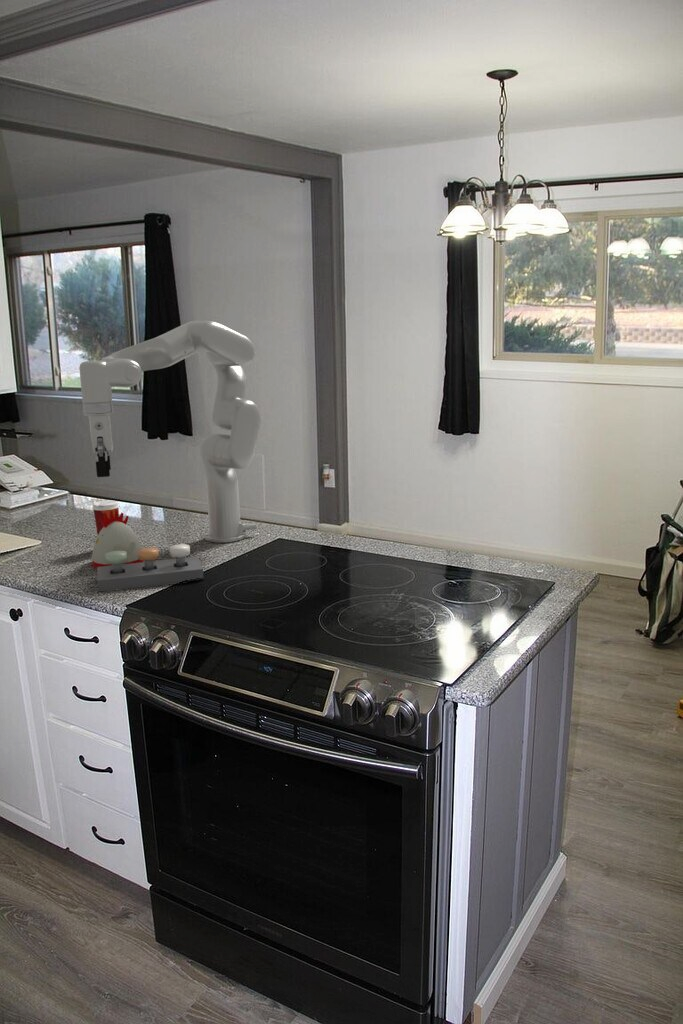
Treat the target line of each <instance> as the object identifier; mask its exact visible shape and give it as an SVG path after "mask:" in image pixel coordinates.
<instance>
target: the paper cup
mask: <svg viewBox="0 0 683 1024" xmlns="http://www.w3.org/2000/svg"><path fill="white" fill-rule="evenodd" d="M92 505H93V506H92V510H93V514H94V520H95V526H96V528H95V529H96V534H97V535H98V534H99V532H100V531H101V530H102V528H103V527H104V526H103V524H102V523H101V521H100V519H99V518H101V519H102V520H104V512H105V513H106V514H107V517H108V519H109V517H110V511H112V512H113V516H115V510H117V511H118V514H119V515H120V513H119V512H120V511H119V508H120V505H119V503H118V501H116V500H101V501H96V502H93V504H92Z"/></svg>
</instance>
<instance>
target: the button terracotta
mask: <svg viewBox="0 0 683 1024" xmlns="http://www.w3.org/2000/svg"><path fill="white" fill-rule="evenodd" d="M159 558H160V553H159V548H158V547H154V546H153V547H152V546H151V547H142V549H139V550H138V559H139V560H143V561H144V565H145V570H153V569H154V561H155V560H157V559H159Z"/></svg>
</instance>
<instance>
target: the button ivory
mask: <svg viewBox="0 0 683 1024" xmlns="http://www.w3.org/2000/svg"><path fill="white" fill-rule="evenodd" d="M189 555H191V547H190V545H189V544H186V543H184V544H183V543H180V544H174V545H171V546H169V557H172V558H175V559H176V566H177V567H183V566H185V565H186V564H185V558H186V557H187V556H188V557H189Z"/></svg>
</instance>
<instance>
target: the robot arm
mask: <svg viewBox="0 0 683 1024" xmlns="http://www.w3.org/2000/svg"><path fill="white" fill-rule="evenodd" d="M201 352H204V353H206V356H207V358H208V360H209V362H210V363H211V365H212V366H213V368H214V370H215V373H216V375H217V387H216V393H215V398H214V403H213V409H212V414H211V420H212V424H213V425H214V427H216V428H217V429H219V430H223V431H230V434H223V433H213V434H210V435H207V436H206V437H205V438H204V439H203V441H202V442H201V444H200V445H201V446H200V457H201V461H202V465H203V469H204V474H205V484H206V485H205V487H206V501H207V502H206V503H207V515H208V516H207V517H208V529H209V530H208V532H206V533H204V540H205V541H207V542H210V543H219V544H220V543H221V544H222V543H233V542H237V541H241V540H243V539H245V538H246V537H247V531H254V530H255V531H256V530H257V523H251V522H246V523H244V522H243V521H241V511H240V510H241V509H240V496H239V495H240V494H239V479H238V474H237V472H236V470H242V469H245V468H248V466H249V465H250V464H251V463H252V461H253V459H254V456H255V453H256V452H255V451H256V447H257V442H258V438H259V431H260V428H261V422H262V421H261V420H262V419H261V411H260V409H259V407H258V406H257V404H256V403H255V402H254V401H252V400H250V399H246V391H247V385H248V384H247V376H246V373H245V370H244V368H243V367H245V366H248V365H249V364H251V362H252V361H254V358H255V356H256V349H255V345H254V343H253V341H251V339H250V338H248V337H247V336H245V335H244V334H241V333H239V332H238V331H235V330H234V329H231V328H230V327H227V326H225V325H223V324H221V323H218V322H216V321H212V320H191V321H189V322H186V323H183V324H181V325H179V326H177V327H175V328H173V329H171V330H168V331H166V332H165V333H163V334H160V335H158V336H156V337H153V338H151V339H148V340H145V341H142V342H140V343H139V342H138V343H136V344H135V345H134V344H133V345H130V346H128V347H125V348H122V349H120V350H118V351H115V352H113V353H111V354H109V355H107V356H105V357H103V358H102V359H100V360H85V361H82V362H81V363H80V364H79V366H78V368H79V370H78V371H79V377H80V378H79V380H80V389H81V398H82V401H81V402H82V411H83V412H82V413H83V416H85V417H88V423H89V433H90V441H91V445H92V447H91V448H92V453H94V454H95V467H96V469H95V470H96V476H97V478H106V477H108V478H109V477H110V475H111V472H110V471H111V469H112V468H111V458H110V457H111V456H110V454H111V453H112V452H113V450H114V443H113V432H112V422H111V416H110V415H113V414H114V406H113V405H114V404H113V393H112V388H116V387H117V388H132V387H134V386H136V385H137V384H139V382H140V381H141V379H142V376H143V372H146V371H153V370H160V369H165V368H168V367H171V366H173V365H176V364H177V363H179V362H181V361H182V360H183V361H184V360H185V359H187V358H189V357H191V356H193V355H194V354H197V353H201ZM109 453H110V454H109Z"/></svg>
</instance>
